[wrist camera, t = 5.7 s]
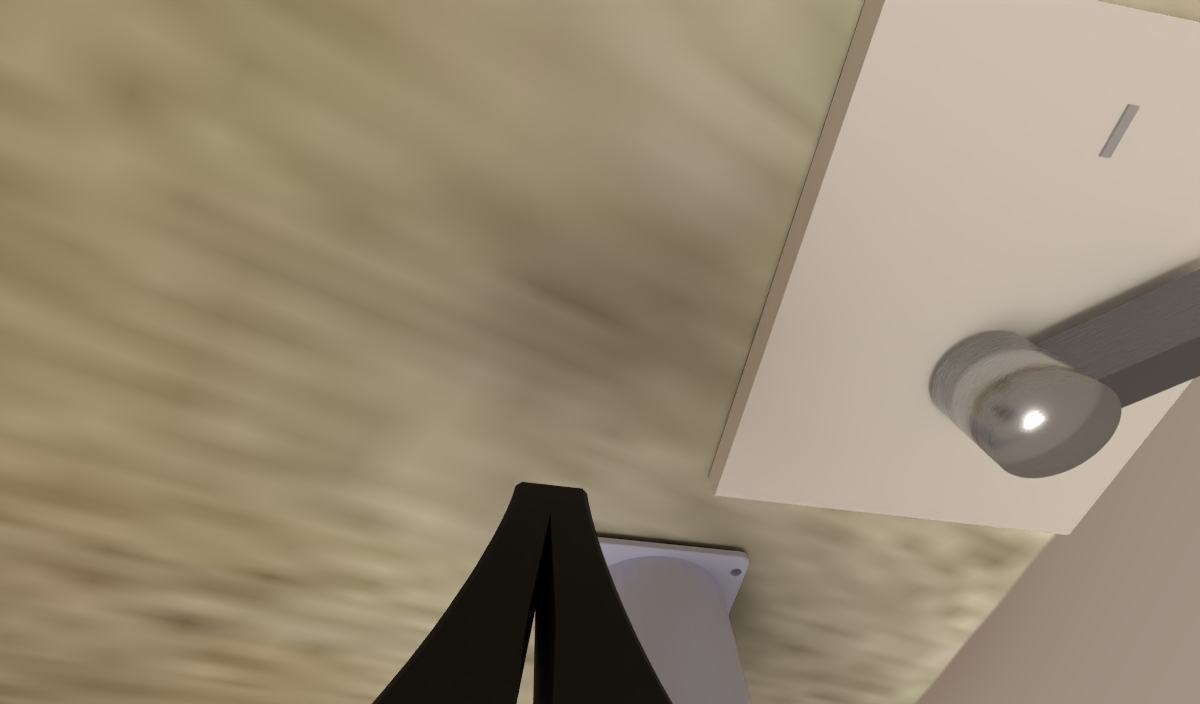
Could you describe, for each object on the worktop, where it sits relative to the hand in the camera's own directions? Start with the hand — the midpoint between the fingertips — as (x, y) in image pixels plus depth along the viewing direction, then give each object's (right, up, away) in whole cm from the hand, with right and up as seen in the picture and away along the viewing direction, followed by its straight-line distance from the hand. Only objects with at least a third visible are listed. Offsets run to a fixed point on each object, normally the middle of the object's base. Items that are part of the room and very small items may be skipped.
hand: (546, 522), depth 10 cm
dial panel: (+15, +5, +8) cm, 18 cm away
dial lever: (+17, +4, +7) cm, 19 cm away
